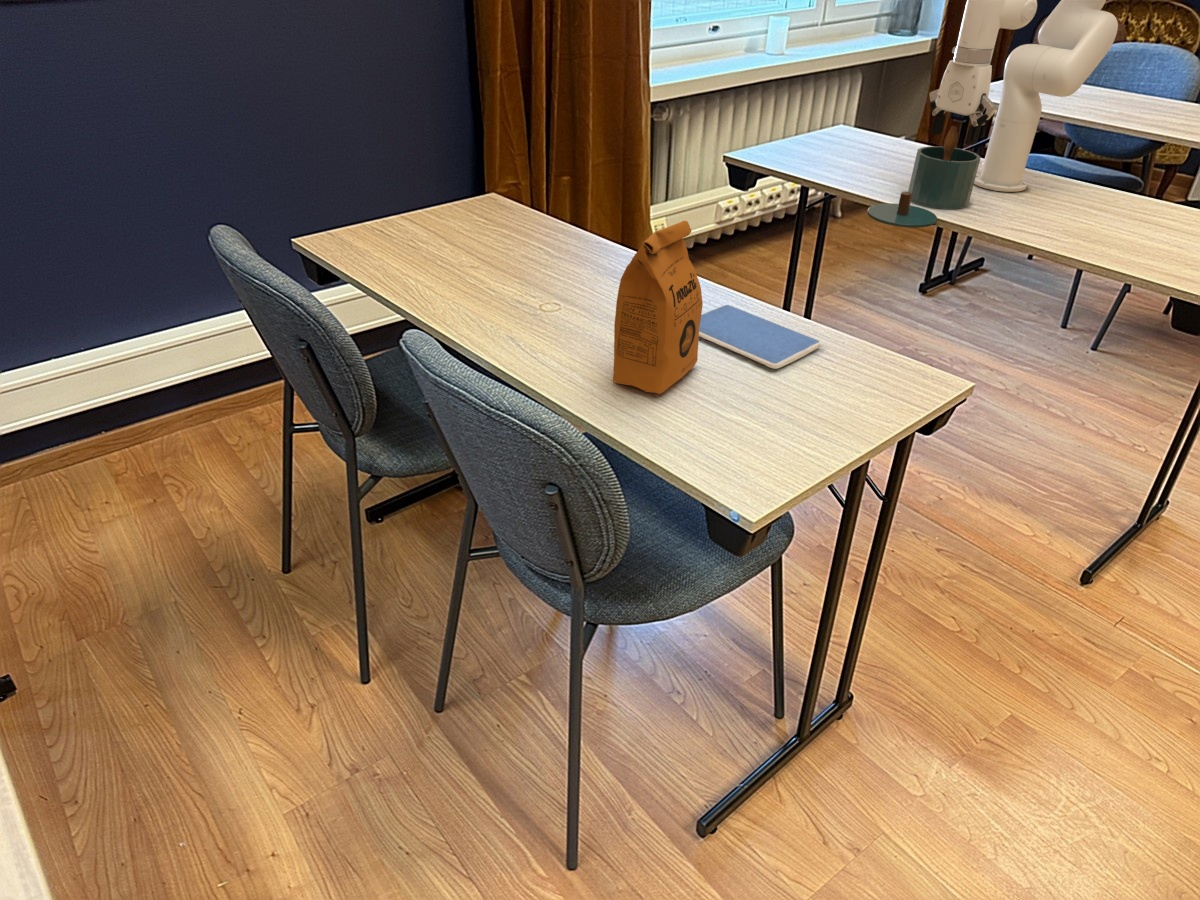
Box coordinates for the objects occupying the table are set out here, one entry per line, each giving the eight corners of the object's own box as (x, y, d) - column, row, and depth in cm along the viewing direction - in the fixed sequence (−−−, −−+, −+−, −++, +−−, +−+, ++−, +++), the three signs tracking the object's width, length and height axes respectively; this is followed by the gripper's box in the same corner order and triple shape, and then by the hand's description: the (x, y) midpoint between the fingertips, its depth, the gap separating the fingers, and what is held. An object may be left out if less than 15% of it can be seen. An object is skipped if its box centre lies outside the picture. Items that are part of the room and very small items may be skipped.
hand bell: (922, 201, 197) (939, 129, 188) (917, 191, 204) (933, 121, 195) (959, 204, 196) (978, 132, 187) (953, 194, 203) (971, 123, 194)
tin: (894, 195, 202) (904, 150, 196) (934, 188, 208) (945, 143, 203) (940, 212, 193) (952, 165, 187) (980, 204, 199) (993, 157, 193)
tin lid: (852, 214, 190) (857, 188, 187) (899, 205, 196) (904, 180, 193) (902, 234, 180) (909, 207, 176) (950, 224, 186) (957, 198, 183)
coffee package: (707, 371, 126) (723, 225, 114) (659, 404, 118) (671, 250, 106) (651, 351, 131) (661, 209, 119) (602, 381, 123) (607, 231, 111)
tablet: (676, 330, 138) (676, 322, 137) (726, 309, 145) (726, 301, 144) (774, 373, 126) (775, 365, 126) (822, 348, 134) (824, 340, 133)
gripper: (929, 50, 188) (911, 132, 197) (995, 64, 176) (973, 150, 185) (952, 48, 191) (934, 128, 201) (1019, 61, 179) (996, 146, 188)
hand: (953, 138), depth 193 cm, fingers open, 9 cm apart
